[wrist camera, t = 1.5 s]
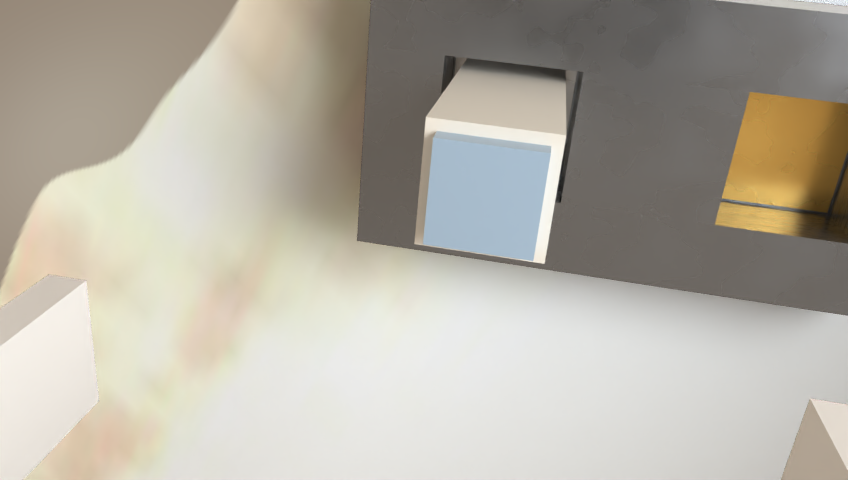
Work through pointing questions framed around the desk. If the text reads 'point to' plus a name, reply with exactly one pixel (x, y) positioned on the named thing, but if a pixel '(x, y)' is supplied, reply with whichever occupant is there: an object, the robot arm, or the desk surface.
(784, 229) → the panel block
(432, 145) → the plug
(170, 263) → the desk surface
